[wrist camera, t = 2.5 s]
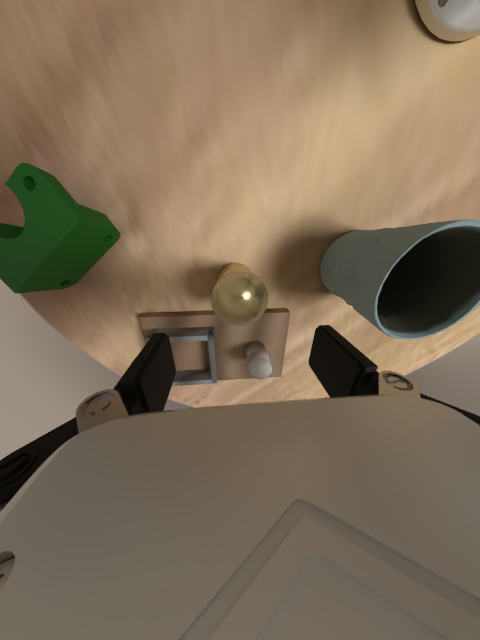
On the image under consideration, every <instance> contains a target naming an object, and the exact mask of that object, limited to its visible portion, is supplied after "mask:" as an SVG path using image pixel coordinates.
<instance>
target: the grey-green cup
mask: <svg viewBox="0 0 480 640" xmlns="http://www.w3.org/2000/svg"><path fill="white" fill-rule="evenodd" d="M320 277H321V280H322V282H323V284H324V285H325V286H326V288H328V289H329V290H330V291H331V292H332V293H334V294H335V295H337V296H339V297H341V298H342V299H344V300H345V302H346V303H347V304H349V305H351V306H353V308H354V309H355V310H356V311H357V312H358V313H359V314H361V315H362V316H363V317H364V318H366V319H367V320H368V321H370V322H371V323H372V324H373V325H374V326H376V327H377V328H378V329H379V330H380V331H382V332H383V333H384V334H386V335H388V336H391V337H394V338H399V339H409V340H411V339H419V338H424V337H428V336H431V335H434V334H437V333H439V332H441V331H444V330H446V329H447V328H449V327H451V326H453V325H454V324H456V323H458V322H459V321H461V320H462V319H463V318H465V317H466V316H467V315H468V314H470V313H471V312H472V311H473V310H474V309H476V308H477V307H478V306H479V305H480V220H474V219H465V220H455V221H446V222H437V223H428V224H421V225H414V226H409V227H399V228H383V229H377V230H357V231H352V232H349V233H347V234H344V235H343V236H341V237H339V238H338V239H337V240H335V241H334V242H333V243H332V244H331V245H330V247H329V248H328V249H327V251H326V252H325V254H324V256H323V258H322V261H321V265H320Z"/></svg>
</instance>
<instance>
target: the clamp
mask: <svg viewBox="0 0 480 640" xmlns="http://www.w3.org/2000/svg"><path fill="white" fill-rule="evenodd" d="M5 185H6V186H8V187H9V188H10V189H11V190H12V191H13V192H14V193H15V194H16V196H17V197H18V199H19V200H20V202H21V204H22V207H23V210H24V214H25V226H24V228H23V227H18V226H12V225H7V224H2V223H0V279H1V280H2V281H3V282H4V283H5V284H6V285H7V286H8V287H10V289H12V291H13V292H14V293H25V292H35V291H46V290H57V289H64V288H67V287H69V286H72V285H73V284H75V283H76V282H77V281H78V280H79V279H80V278H81V277H82V276H83V275H84V274H85V273H86V272H87V271H88V270H89V269H90V268H91V267H92V266H93V265H94V264H95V263H96V262H97V261H98V260H99V259H100V258H101V257H102V256H103V255H104V253H105V252H106V251H107V250H108V249H109V248H110V247H111V246H112V245H113V244H114V243H115V242H116V241H117V240H118V239H119V237H120V232H119V231H118V230H117V229H116V227H115V226H114V225H113V224H112V223H111V221H110V220H109V219H108V218H107V216H106V215H104V214H103V213H100V212H97V211H95V210H92V209H90V208H87V207H84V206H82V205H79V204H77V203H76V201H75V200H74V199H73V198H72V197H71V196H70V194H69V193H68V192H67V191H66V190H65V188H64V187H63V186H62V185H61V184H60V182H59V181H58V180H57V179H56V178H55V177H54V176H53V175H51V174H49V173H47V172H45V171H43V170H41V169H39V168H37V167H35V166H33V165H31V164H28V163H22V164H20V165H18V166H17V167H16V169H15V170H14V172H13V173H12V175H11V176H10V178H9V179H8V181H7V182H6V183H5Z"/></svg>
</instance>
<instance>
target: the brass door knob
mask: <svg viewBox="0 0 480 640" xmlns="http://www.w3.org/2000/svg"><path fill="white" fill-rule="evenodd" d="M211 304H212V308H213V310H214V312H215V314H216V315H217V316H218V318H219V319H221V320H222V321H223V322H225V323H227V324H230V325H234V326H244V325H248V324H251V323H253V322H255V321H256V320H257V319H259V318H260V317H261V316H262V314H263V313H264V311H265V310H266V307H267V304H268V293H267V289H266V287H265V285H264V284H263V282H262V281H261V280H260V279H259V278H258V277H257V276H256V275H255V274H253V273H252V272H251V271H250V269H249V268H248V267H247V266H245V265H243V264H240V263H231V264H229V265H227V266H225V267H224V268H223V269H222V270H221V272H220V274H219V278H218V281H217V282H216V284H215V285H214V288H213V291H212V296H211Z"/></svg>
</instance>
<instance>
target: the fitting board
mask: <svg viewBox="0 0 480 640" xmlns="http://www.w3.org/2000/svg"><path fill="white" fill-rule="evenodd" d="M289 317H290V312H289V310H288V309H287V308H284V309H266V310H265V311H264V313H263V314H262V316H261V317H260V318H259V319H257V320H256V321H255V322H253V323H251V324H248V325H244V326H234V325H230V324H227V323H225V322H223V321H222V320H221V319H219V318H218V316H217V315H216V314H215V312H214V311H190V312H159V313H142V314H141V315H140V316H139V317H138V318H139V321H140V325H141V328H142V331H143V335H144V338H145V341H146V343H147V342H148V341H149V339H150V338H151V336H152V335H153V334H154V333H165V334H166V335H168V336H169V339H170V344H171V348H172V353H173V358H174V362H175V367H176V375H175V378H174V381H173V384H172V386H177V385H194V384H211V383H217V380H230V379H248V378H255V379H264V378H266V377H281V373H282V366H283V359H284V352H285V345H286V338H287V331H288V324H289Z"/></svg>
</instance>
